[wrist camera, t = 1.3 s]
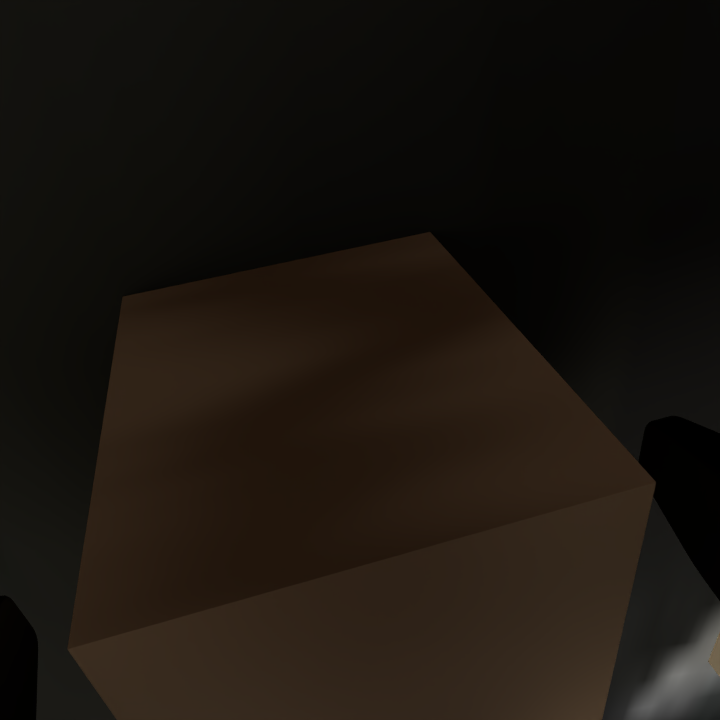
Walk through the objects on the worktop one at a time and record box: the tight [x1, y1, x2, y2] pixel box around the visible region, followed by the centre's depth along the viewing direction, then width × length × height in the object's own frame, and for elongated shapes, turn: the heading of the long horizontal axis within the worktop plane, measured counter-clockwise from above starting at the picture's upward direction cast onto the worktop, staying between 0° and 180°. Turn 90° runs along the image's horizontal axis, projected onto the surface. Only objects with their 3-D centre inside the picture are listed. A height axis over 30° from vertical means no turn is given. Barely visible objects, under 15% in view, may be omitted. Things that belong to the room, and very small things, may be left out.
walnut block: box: [68, 232, 656, 720], centre depth 9 cm, size 5×5×6 cm
